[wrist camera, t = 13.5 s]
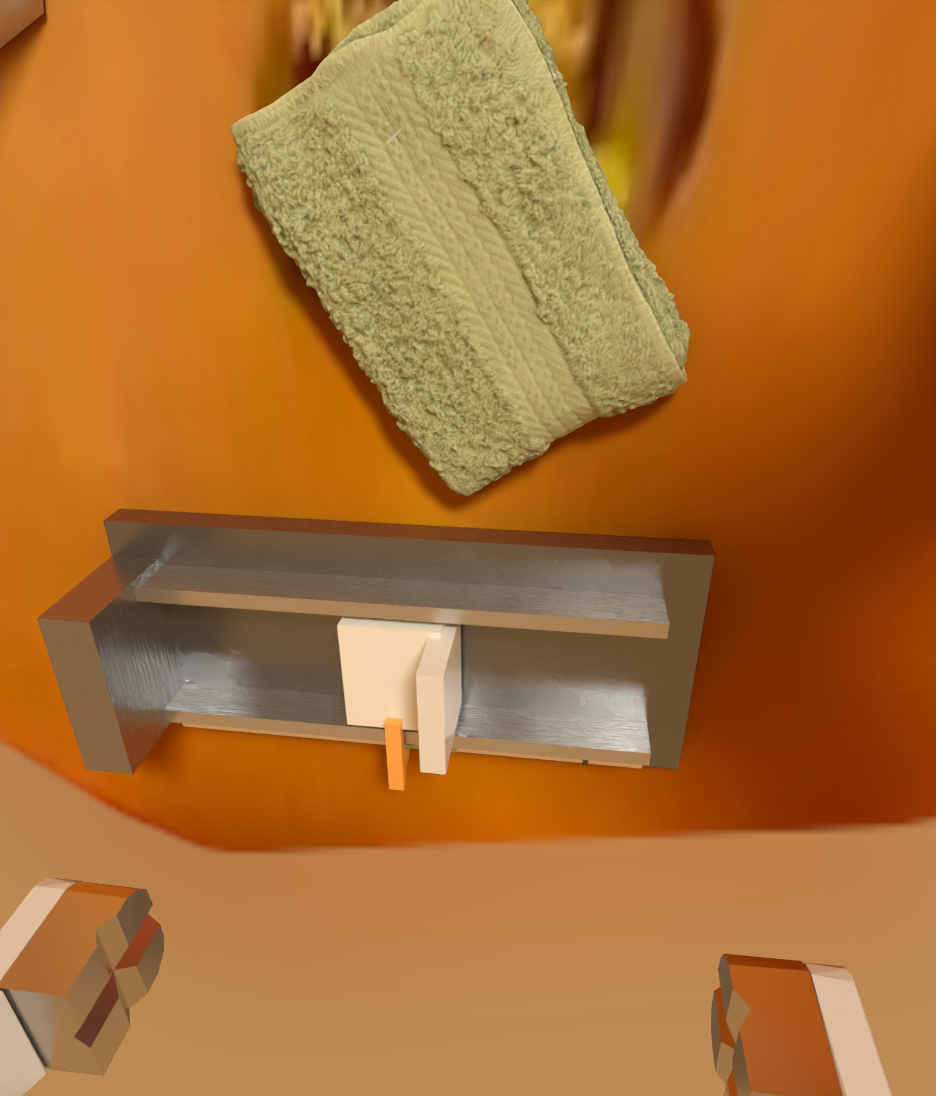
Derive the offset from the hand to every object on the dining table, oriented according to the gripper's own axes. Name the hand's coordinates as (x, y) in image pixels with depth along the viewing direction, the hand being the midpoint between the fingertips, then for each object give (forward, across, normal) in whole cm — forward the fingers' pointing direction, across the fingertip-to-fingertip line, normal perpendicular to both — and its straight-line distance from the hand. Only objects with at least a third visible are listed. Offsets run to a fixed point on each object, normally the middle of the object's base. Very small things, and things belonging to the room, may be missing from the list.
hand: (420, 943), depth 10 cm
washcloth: (+27, +3, -6) cm, 27 cm away
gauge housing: (+26, +7, +13) cm, 29 cm away
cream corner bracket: (+24, +7, +14) cm, 29 cm away
